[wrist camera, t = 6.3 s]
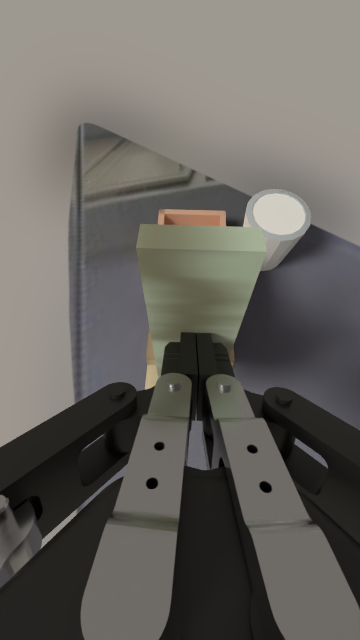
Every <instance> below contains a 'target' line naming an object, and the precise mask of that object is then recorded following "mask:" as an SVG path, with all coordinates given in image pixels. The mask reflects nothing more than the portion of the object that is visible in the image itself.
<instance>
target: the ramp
mask: <svg viewBox="0 0 360 640" xmlns="http://www.w3.org/2000/svg"><path fill="white" fill-rule="evenodd" d="M136 250H137V256H138V262H139V268H140V274H141V280H142V286H143V291H144V297H145V303H146V309H147V315H148V321H149V336H148V344H147V353H146V360H147V365H148V366H147V375H146V384H145V390H146V389H149V388H152V387H153V386H155V385H156V382H157V380H158V378H159V377H161V370H162V363H163V356H164V349H165V346H166V345H167V344H168V343H169V342H180V336H181V332H187V333H195V340H196V333H211V337H212V343H222V344H223V345H224V346H225V347H226V348H227V351H228V354H229V358H230V362H231V365H232V366H233V364H234V361H235V359H234V346H233V345H234V343H235V340H236V337H237V334H238V331H239V329H240V326H241V323H242V320H243V317H244V314H245V312H246V309H247V306H248V303H249V300H250V298H251V295H252V292H253V289H254V286H255V284H256V281H257V278H258V275H259V272H260V269H261V267H262V264H263V261H264V258H265V255H266V253H267V250H266V245H265V240H264V235H263V229H262V227H231V226H195V225H160V224H140V229H139V235H138V240H137V246H136Z"/></svg>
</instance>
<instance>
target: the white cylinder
mask: <svg viewBox="0 0 360 640" xmlns="http://www.w3.org/2000/svg"><path fill="white" fill-rule="evenodd" d="M310 224H311V213H310V210H309V208H308V205H307V204H306V203H305V202H304V201H303V200H302V199H301V198H300V197H299V196H297V195H295V194H293V193H291V192H289V191H285V190H280V189H271V190H264V191H262V192H260V193H258V194H256V195H254V196H253V197H252V198H251V200H250V201H249V202H248V204H247V209H246V214H245V219H244V225H243V227H262V229H263V235H264V240H265V245H266V250H267V253H266V255H265V258H264V261H263V264H262V267H261V269H260V271H267V270H271V269H273V268H275V267H277V266H278V265H279V264H280V262H281V261H282V260H283V259H284V258H285V256H286V255H287V254H288V253H289V252H290V250H291V249H292V248H293V247H294V246H295V244H296V243H297V242H298V241H299V240H300V238H301V237H302V236H303V235H304V233H305V232H306V231H307V229H308V228H309V226H310Z"/></svg>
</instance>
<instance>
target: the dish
mask: <svg viewBox="0 0 360 640" xmlns="http://www.w3.org/2000/svg"><path fill="white" fill-rule="evenodd" d="M158 224H160V225H195V226H226V211H207V210H171V209H159V218H158Z"/></svg>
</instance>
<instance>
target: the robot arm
mask: <svg viewBox="0 0 360 640" xmlns="http://www.w3.org/2000/svg"><path fill="white" fill-rule="evenodd" d="M195 415H197V421H203V431H202V439H203V445H204V451H205V457H206V464H207V470H199V469H195V468H192V467H188V466H187V459H188V446H189V432H190V431H191V424H192V420H194V421H195ZM102 434H103V436H102V437H101V438H99V439H98V440H97V441H95V442H94V443H93V444H91V445H90V446H88V447H87V448H86V449H84V448H85V447H86V446H87V445H89V444H90V443H91V442H93V441H94V440H96V439H97V438H98V437H100V436H101V435H102ZM295 438H297V439H299V440H300V441H301V442H303V443H304V444H306V445H307V446H308V447H310V448H311V449H313V450H314V451H315V452H317V453H318V454H319V455H321V456H322V457H323V458H324V459H325V461H326V463H327V465H328V469H327V468H326V467H325V466H323V465H322V464H321V463H319V462H318V461H317V460H315V459H314V458H313V457H311V456H310V455H308V454H307V453H306V452H304V451H303V450H302V449H300V448H299V447H298V446H296V445H295V444H294V442H295ZM83 449H84V450H83ZM82 450H83V451H82ZM81 451H82V452H81ZM126 464H128V465H127V468H126V471H125V475H124V477H122V478H119V479H118V480H116V481H114V482H113V483H111V484H110V485H108V486H107V487H106V488H105V489H103V490H102V491H101V492H100V493H99V494H98V495H97V496H96V497H95V498H94V499H93V500H92V501H91V502H90V503H89V504H88V505H87V506H85V507H84V508H83V509H82V510H81V511H80V512H79V513H78V514H77V515H76V516H75V517H74V518H73V519H72V520H71V521H70V522H69V523H68V524H67V525H66V526H65V527H64V528H63V529H61V530H60V531H59V532H58V533H57V534H56V535H55V536H54V537H53V538H52V539H51V540H50V541H49V542H48V543H47V544H46V545H45V546H44V547H43V548H41V544H42V539H43V538H44V537H45V536H46V535H48V534H49V533H50V532H51V531H52V530H53V529H54V528H55V527H56V526H58V525H59V524H60V523H61V522H62V521H63V520H64V519H66V518H67V517H68V516H69V515H70V514H71V513H72V512H73V511H75V510H76V509H77V508H78V507H79V506H80V505H81V504H82V503H84V502H85V501H86V500H87V499H88V498H89V497H90V496H92V495H93V494H94V493H95V492H96V491H97V490H98V489H99V488H101V487H102V486H103V485H104V484H105V483H106V482H107V481H108V480H110V479H111V478H112V477H113V476H114V475H115V474H116V473H117V472H119V471H120V470H121V469H122V468H123V467H124V466H125V465H126ZM40 548H41V549H40ZM0 640H360V431H359V430H358V429H356V428H354V427H353V426H351V425H349V424H347V423H346V422H344V421H342V420H341V419H339V418H337V417H336V416H334V415H332V414H330V413H329V412H327V411H325V410H324V409H322V408H320V407H319V406H317V405H315V404H313V403H312V402H310V401H308V400H307V399H305V398H303V397H302V396H300V395H298V394H296V393H295V392H293V391H291V390H288V389H285V388H280V387H274V388H270V389H268V390H266V391H265V393H264V396H263V395H259V394H255V393H251V392H249V391H246V390H244V389H243V387H242V385H241V383H240V382H239V380H237V379H236V378H235V377H234V373H233V369H232V365H231V362H230V358H229V354H228V351H227V348H226V347H225V346H224V345H223V344H222V343H212V337H211V333H196V340H195V333H187V332H181V336H180V342H169V343H168V344H167V345H166V346H165V349H164V356H163V363H162V370H161V377H159V378H158V380H157V382H156V385H155V386H153V387H152V388H149V389H146V390H142V391H137V392H136V389H135V387H134V386H132V385H131V384H128V383H124V382H117V383H112V384H109V385H107V386H105V387H103V388H102V389H100V390H98V391H97V392H95V393H93V394H91V395H90V396H88V397H86V398H84V399H83V400H81V401H79V402H78V403H76V404H74V405H72V406H71V407H69V408H67V409H66V410H64V411H62V412H60V413H59V414H57V415H55V416H54V417H52V418H50V419H48V420H47V421H45V422H43V423H41V424H40V425H38V426H36V427H35V428H33V429H31V430H29V431H28V432H26V433H24V434H23V435H21V436H19V437H17V438H16V439H14V440H12V441H11V442H9V443H7V444H6V445H4V446H2V447H0Z"/></svg>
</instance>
